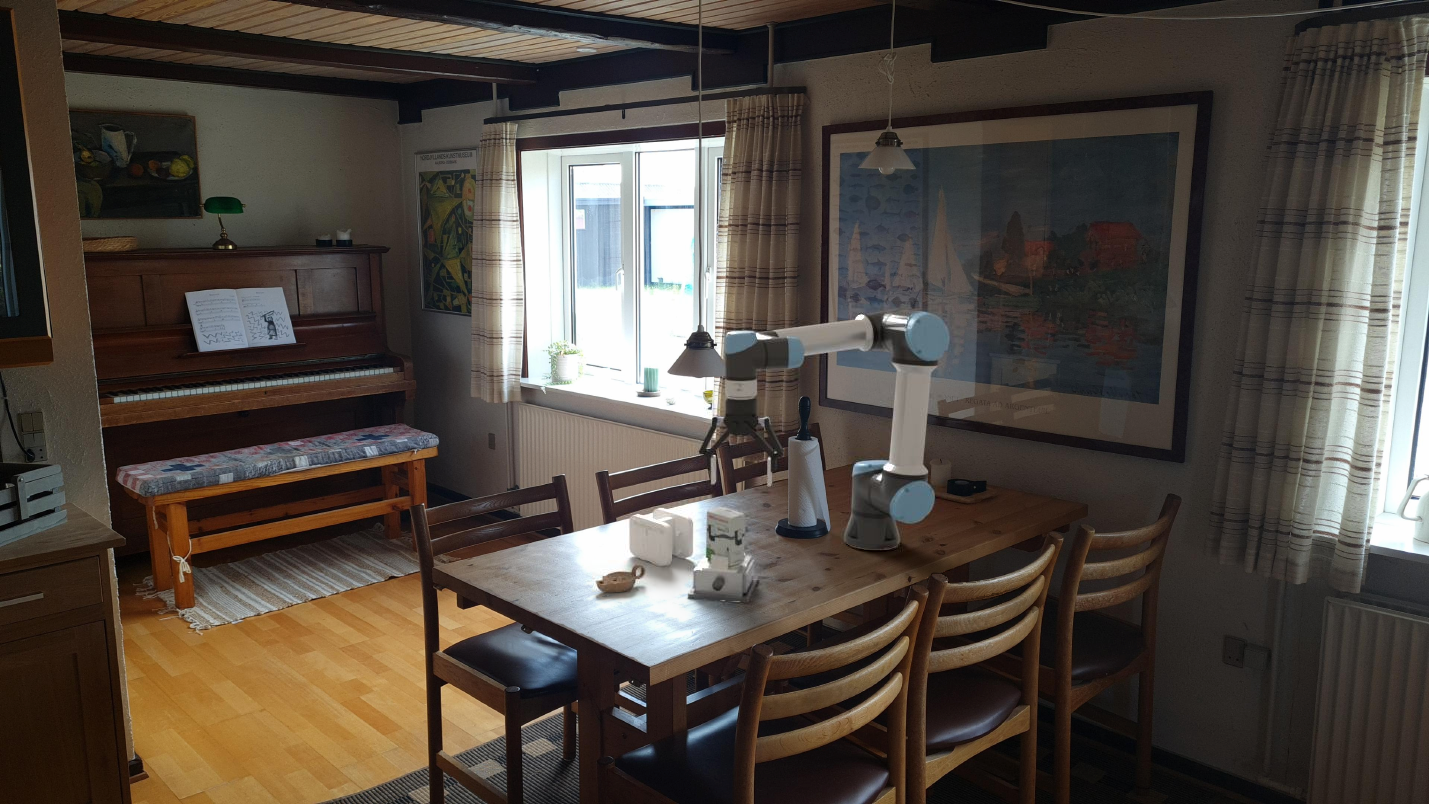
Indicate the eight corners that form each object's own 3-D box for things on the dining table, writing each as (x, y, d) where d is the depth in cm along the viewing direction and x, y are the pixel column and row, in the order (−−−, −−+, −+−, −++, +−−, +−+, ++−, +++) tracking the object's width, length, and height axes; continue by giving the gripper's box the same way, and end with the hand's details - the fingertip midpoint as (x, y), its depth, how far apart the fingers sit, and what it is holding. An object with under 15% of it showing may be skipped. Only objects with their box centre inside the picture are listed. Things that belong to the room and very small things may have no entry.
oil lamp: (604, 599, 227) (603, 578, 226) (589, 589, 233) (588, 569, 232) (652, 588, 234) (652, 568, 233) (637, 579, 240) (637, 559, 240)
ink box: (704, 558, 234) (705, 509, 232) (719, 553, 238) (720, 506, 236) (730, 567, 228) (731, 517, 226) (745, 562, 232) (746, 513, 230)
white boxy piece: (758, 579, 241) (759, 540, 239) (747, 604, 225) (747, 561, 223) (702, 575, 243) (702, 535, 242) (687, 598, 227) (687, 557, 226)
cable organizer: (695, 561, 254) (696, 517, 252) (665, 570, 246) (665, 525, 245) (657, 547, 264) (657, 506, 262) (627, 556, 257) (626, 513, 255)
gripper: (686, 398, 231) (687, 485, 235) (792, 400, 226) (791, 489, 230) (692, 393, 238) (693, 478, 242) (795, 395, 234) (794, 481, 237)
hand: (741, 484), depth 236 cm, fingers open, 13 cm apart
